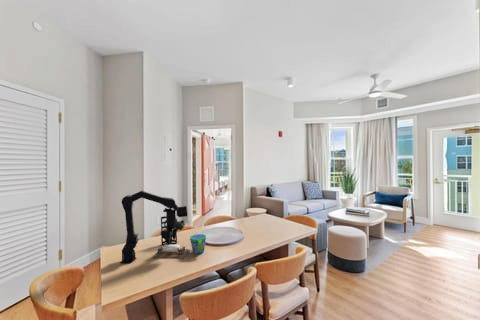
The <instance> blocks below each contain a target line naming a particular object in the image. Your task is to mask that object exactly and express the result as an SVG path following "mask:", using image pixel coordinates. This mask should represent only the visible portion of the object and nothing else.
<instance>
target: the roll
mask: <svg viewBox="0 0 480 320" xmlns="http://www.w3.org/2000/svg"><path fill="white" fill-rule="evenodd" d="M179 249H180V244H174V245H163V251H164V252H178V251H179Z"/></svg>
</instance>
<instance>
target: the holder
mask: <svg viewBox="0 0 480 320" xmlns="http://www.w3.org/2000/svg"><path fill="white" fill-rule="evenodd" d="M163 219H166V215H164V216H161V217H160V233H161V232H162V231H163V230H164V229H165V227H166V226H167V224H166V222H165V221H163ZM160 236H161V235H160ZM160 243H161V246H164V245H168V244H167V243H166V241H165V240H164V238H163V236H161V242H160ZM170 245H178V233H177V234H176V238H175V240H173V237H172V236H171V238H170Z"/></svg>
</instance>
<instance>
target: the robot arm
mask: <svg viewBox="0 0 480 320" xmlns="http://www.w3.org/2000/svg"><path fill="white" fill-rule="evenodd" d="M139 199H145V200H148V201H150V202H155V203H158V204H161V205H162V206H163V207H164V209H163V213H165V216H166V218H165V221H164V222H166V227H165V228H163V231H162V232H161V231H160V236H163V240H164V241H166V243H165V244H168V245H170V238H171V236H172V240H176V234H177V235H178V231H182V230H184V227H185V226H186V223H185V220H183V219H181V220H180V221H178V218H185V217H188V207H187V206H186V205H183V206H178V205H177V204H176V201H175V199H174V197H164V196H161V195H156V194H153V193H151V192H147V191H144V190H140V191H138V192H136V193H133V194H128V195H125V196H124V197H122V198H121V205H122V208H123V211H124V214H125V216H124V217H125V225H126V227H125V228H126V239H125V244H124V245H123V247H122V249H121V261H120V264H131V263H133V262H134V261H136V260H137V257H136V250H135V248H137V244H138V242H139V240H140V239H139V234H138V233H136V232H135V225H134V224H135V223H134V213H133V208H134V202H136V201H137V200H139ZM177 217H178V218H177Z"/></svg>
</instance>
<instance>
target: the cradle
mask: <svg viewBox="0 0 480 320" xmlns="http://www.w3.org/2000/svg"><path fill="white" fill-rule="evenodd" d="M163 248H164V245H161V246H159V247H158V248H157V249H156V250H157V252H155V253H154V254H153V255H152V258H153V259H185V257H186V256H187V254H188V253H189V252H190V249H189V248H188V249H187V248H186V247H185V246H184V245H183V246H182V247H181V248H180V247H179V251H178V252H164V251H163Z"/></svg>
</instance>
